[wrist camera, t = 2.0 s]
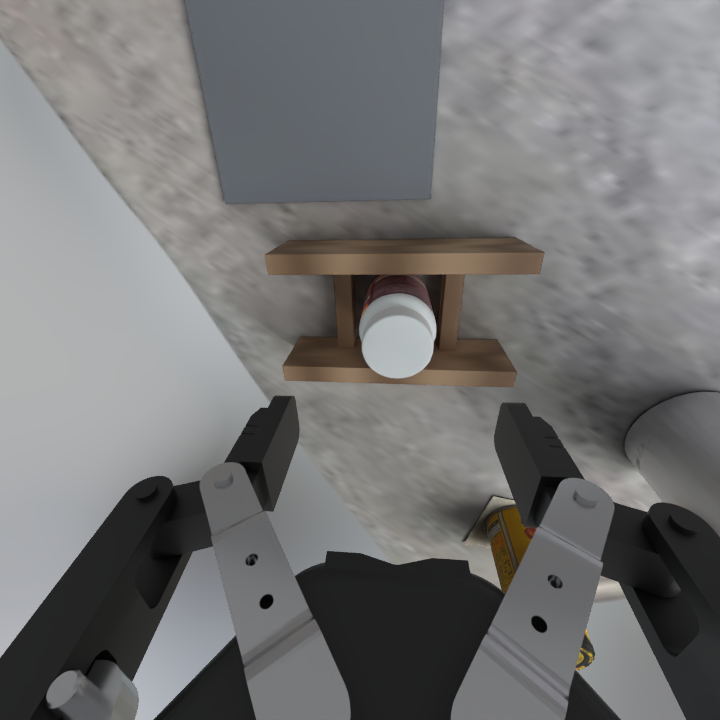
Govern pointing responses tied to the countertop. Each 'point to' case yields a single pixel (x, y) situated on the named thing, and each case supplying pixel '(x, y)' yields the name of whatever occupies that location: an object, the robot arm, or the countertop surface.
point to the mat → (320, 96)
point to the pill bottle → (397, 326)
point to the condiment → (512, 550)
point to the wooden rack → (393, 257)
